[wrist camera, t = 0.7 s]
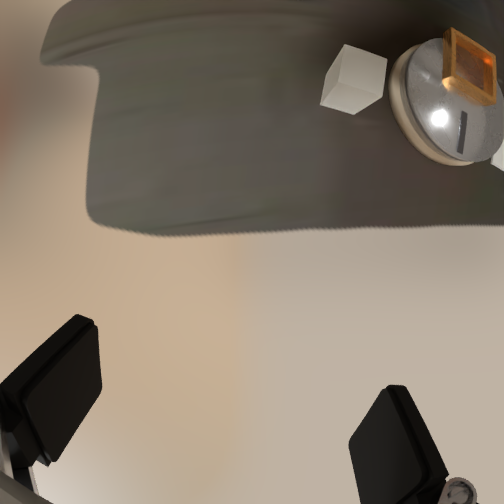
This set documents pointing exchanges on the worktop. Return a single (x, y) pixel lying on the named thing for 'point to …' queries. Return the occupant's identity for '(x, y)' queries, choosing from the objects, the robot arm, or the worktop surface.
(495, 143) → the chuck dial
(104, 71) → the worktop surface
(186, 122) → the worktop surface
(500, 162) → the mat
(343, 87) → the white rectangular block
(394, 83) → the base
